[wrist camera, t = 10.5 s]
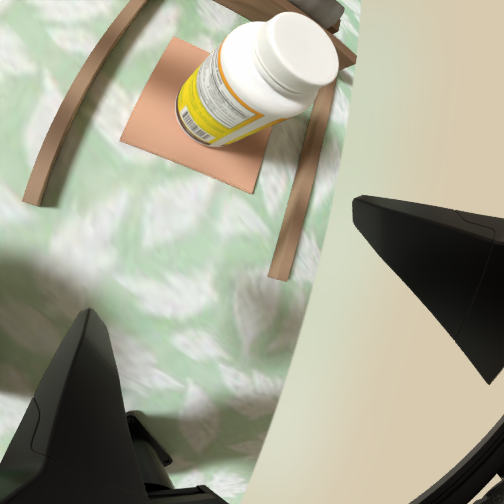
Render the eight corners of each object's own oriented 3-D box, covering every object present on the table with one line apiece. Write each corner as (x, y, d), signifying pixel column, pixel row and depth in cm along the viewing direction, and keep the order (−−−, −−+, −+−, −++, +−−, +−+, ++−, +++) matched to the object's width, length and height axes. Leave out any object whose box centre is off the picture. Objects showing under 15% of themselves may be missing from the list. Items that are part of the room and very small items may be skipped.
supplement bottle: (247, 88, 20) (348, 31, 12) (241, 155, 21) (353, 120, 12) (178, 69, 17) (258, -19, 9) (165, 141, 18) (247, 74, 9)
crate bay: (277, 279, 24) (326, 292, 19) (26, 202, 14) (3, 194, 9) (335, 44, 25) (373, 27, 21) (181, -49, 15) (206, -85, 11)
